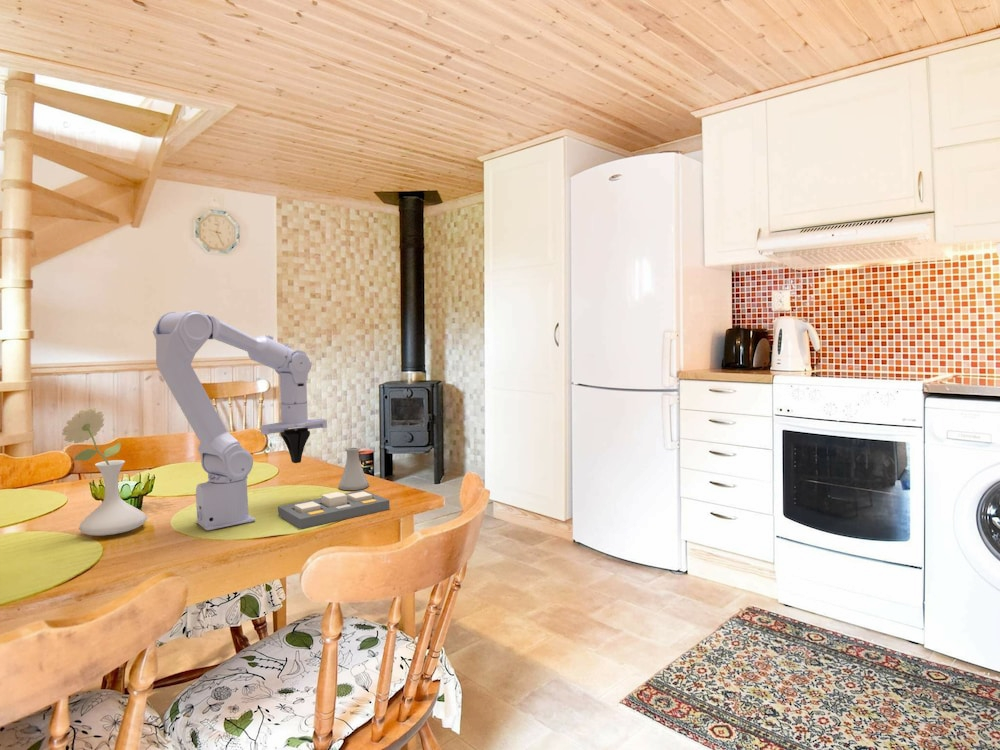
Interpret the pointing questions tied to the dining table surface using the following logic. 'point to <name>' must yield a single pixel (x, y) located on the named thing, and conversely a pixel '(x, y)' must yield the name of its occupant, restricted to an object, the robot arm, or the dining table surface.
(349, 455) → the flask
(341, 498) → the button middle
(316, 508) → the button near
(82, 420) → the flower in vase
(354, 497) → the button far
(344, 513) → the button board
